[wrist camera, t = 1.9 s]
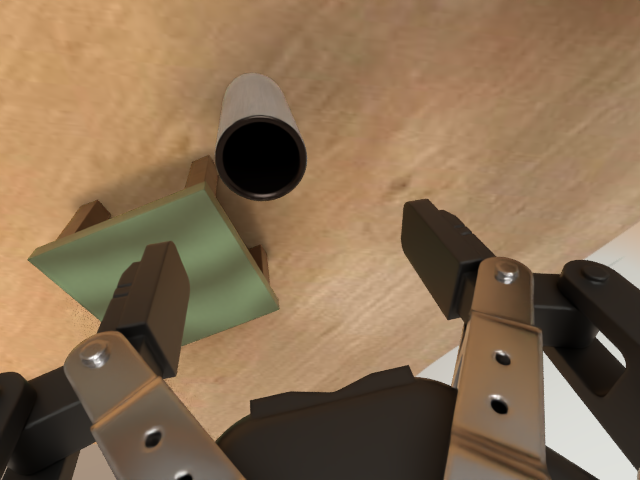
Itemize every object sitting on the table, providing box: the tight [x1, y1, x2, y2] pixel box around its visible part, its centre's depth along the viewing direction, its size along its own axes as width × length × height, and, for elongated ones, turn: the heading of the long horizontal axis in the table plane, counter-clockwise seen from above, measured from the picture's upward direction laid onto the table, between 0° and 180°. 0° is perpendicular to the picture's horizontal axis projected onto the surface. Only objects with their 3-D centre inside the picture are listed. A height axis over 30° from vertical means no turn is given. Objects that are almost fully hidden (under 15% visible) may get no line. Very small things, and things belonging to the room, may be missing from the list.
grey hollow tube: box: [215, 73, 307, 201], centre depth 21 cm, size 4×4×10 cm
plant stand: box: [28, 155, 280, 346], centre depth 27 cm, size 12×12×7 cm
